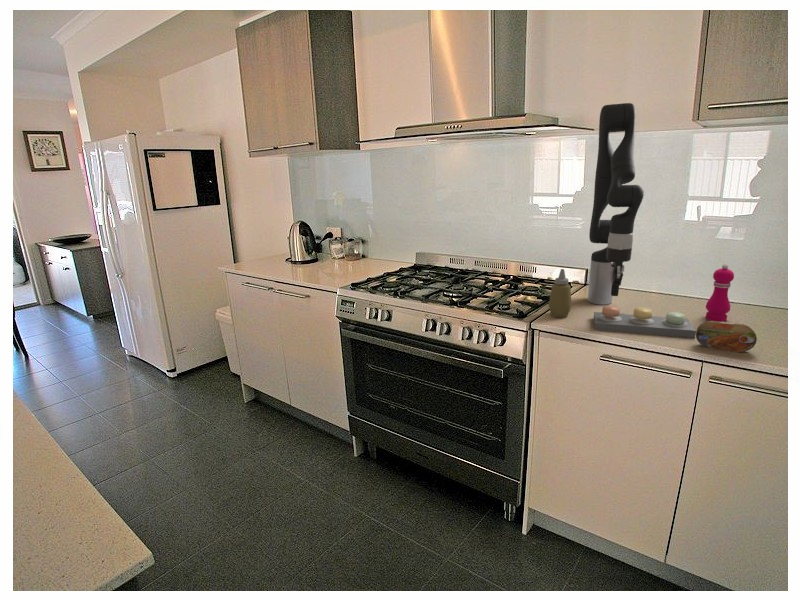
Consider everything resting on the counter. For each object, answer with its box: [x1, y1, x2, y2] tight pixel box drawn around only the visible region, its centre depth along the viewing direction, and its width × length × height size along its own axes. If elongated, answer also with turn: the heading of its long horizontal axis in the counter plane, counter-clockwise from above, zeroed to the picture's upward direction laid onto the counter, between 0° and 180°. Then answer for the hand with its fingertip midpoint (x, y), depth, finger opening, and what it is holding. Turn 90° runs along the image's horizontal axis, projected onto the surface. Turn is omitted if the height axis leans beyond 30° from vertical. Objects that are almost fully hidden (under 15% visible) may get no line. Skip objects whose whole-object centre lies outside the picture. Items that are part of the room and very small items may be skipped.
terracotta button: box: [601, 304, 621, 317], centre depth 161 cm, size 6×6×2 cm
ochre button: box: [632, 306, 653, 319], centre depth 158 cm, size 6×6×2 cm
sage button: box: [665, 311, 687, 324], centre depth 155 cm, size 6×6×2 cm
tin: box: [695, 320, 758, 353], centre depth 139 cm, size 15×3×8 cm, turn 59°
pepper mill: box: [705, 264, 735, 322], centre depth 162 cm, size 7×7×20 cm
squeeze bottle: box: [548, 268, 572, 319], centre depth 171 cm, size 8×8×18 cm
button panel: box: [593, 311, 697, 339], centre depth 159 cm, size 12×30×3 cm, turn 70°
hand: (614, 295), depth 159 cm, fingers closed
